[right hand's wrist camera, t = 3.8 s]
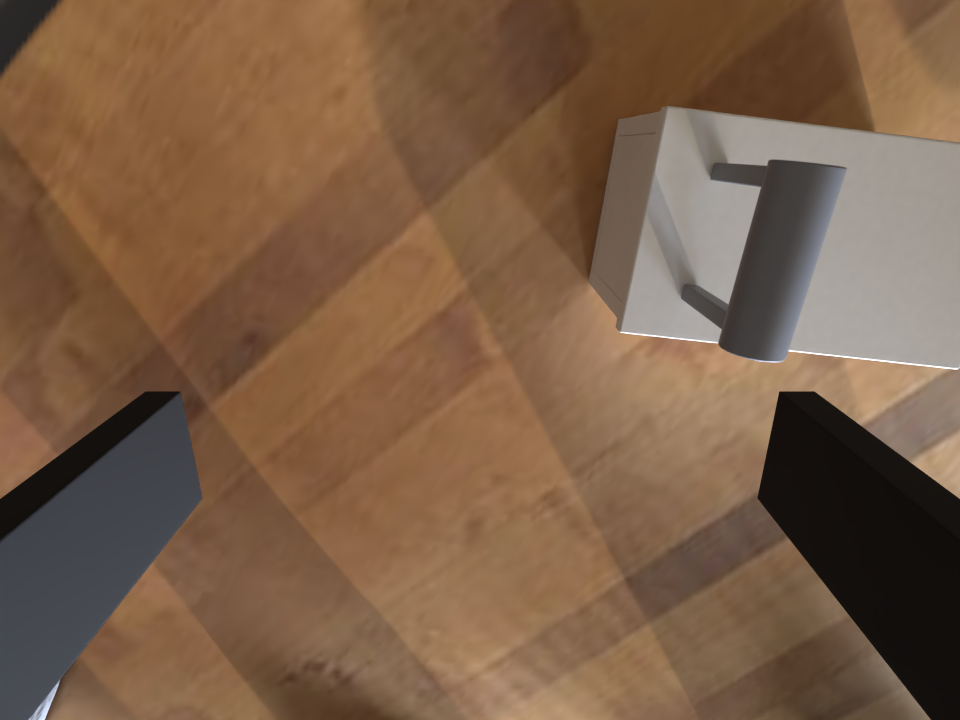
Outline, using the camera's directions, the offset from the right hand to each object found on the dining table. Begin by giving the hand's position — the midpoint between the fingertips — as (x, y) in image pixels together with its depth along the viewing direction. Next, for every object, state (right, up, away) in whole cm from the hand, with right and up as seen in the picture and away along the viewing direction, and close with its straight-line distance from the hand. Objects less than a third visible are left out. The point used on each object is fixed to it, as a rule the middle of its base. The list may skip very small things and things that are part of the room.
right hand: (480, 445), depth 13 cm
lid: (+15, +7, +12) cm, 20 cm away
